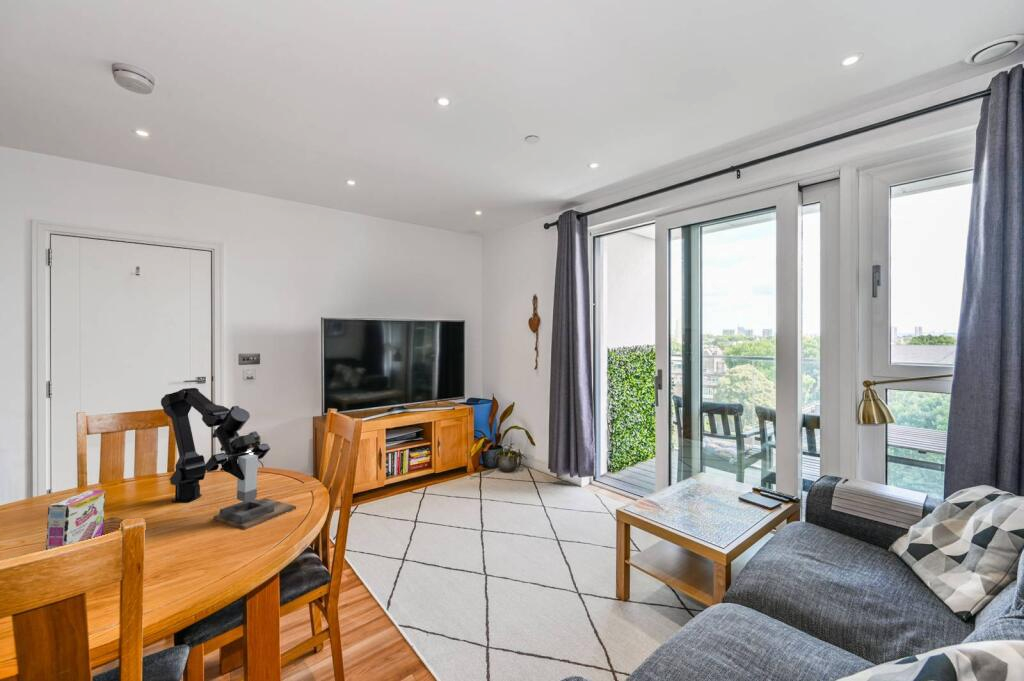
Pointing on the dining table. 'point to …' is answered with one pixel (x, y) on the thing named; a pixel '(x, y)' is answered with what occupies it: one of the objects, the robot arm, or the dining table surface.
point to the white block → (247, 477)
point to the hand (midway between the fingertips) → (250, 477)
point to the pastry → (111, 524)
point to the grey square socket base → (252, 512)
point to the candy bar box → (75, 519)
